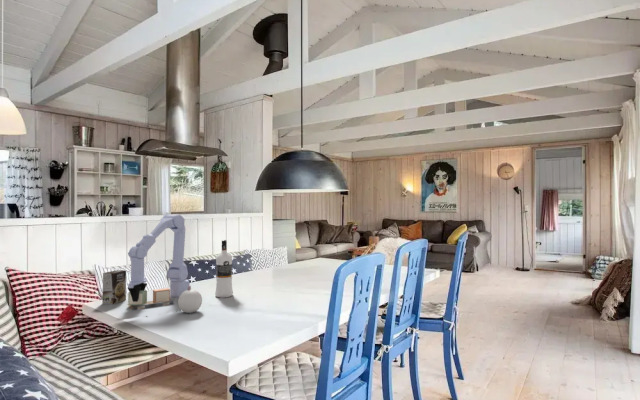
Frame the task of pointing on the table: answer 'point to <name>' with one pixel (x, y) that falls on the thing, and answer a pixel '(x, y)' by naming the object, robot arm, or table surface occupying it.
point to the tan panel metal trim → (150, 305)
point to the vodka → (224, 273)
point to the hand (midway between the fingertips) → (137, 300)
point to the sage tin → (141, 299)
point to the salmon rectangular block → (161, 295)
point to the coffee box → (114, 287)
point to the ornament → (190, 300)
